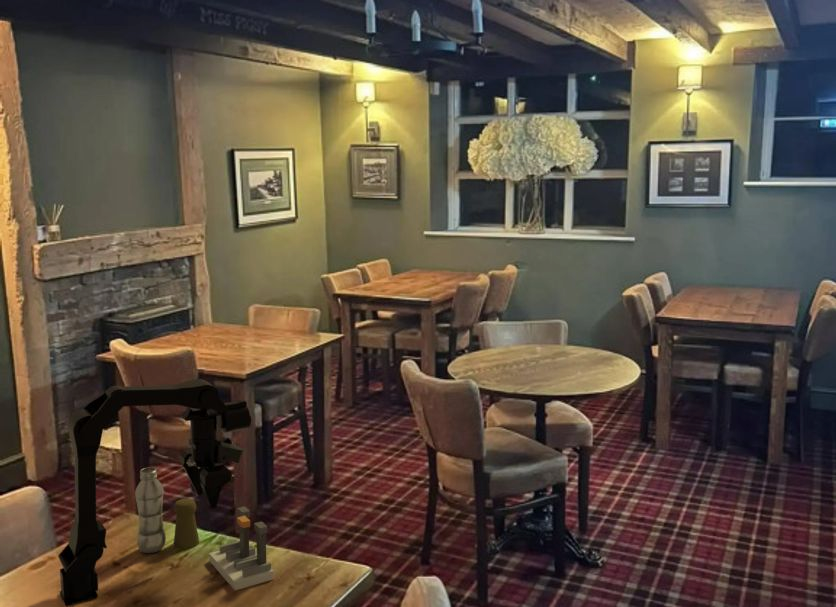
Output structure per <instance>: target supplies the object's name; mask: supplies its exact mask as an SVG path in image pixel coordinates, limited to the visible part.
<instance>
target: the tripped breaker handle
mask: <svg viewBox="0 0 836 607" xmlns="http://www.w3.org/2000/svg"><path fill="white" fill-rule="evenodd" d="M236 519H237V520H236V521H237V524H238V530H239V531H238V532H239V541H240V558H241V559H242V558H246V557H249V546H250V529H249V528H250V527H251V520H250V519H249V517H248V518H247V517H246V516H241V517H239V516H237V517H236ZM248 527H249V528H248Z"/></svg>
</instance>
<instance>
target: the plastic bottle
mask: <svg viewBox="0 0 836 607" xmlns="http://www.w3.org/2000/svg"><path fill="white" fill-rule="evenodd" d="M157 472H158V471H157V468H156V467H153V466H151V467H149V466H148V467H144V468H142V469H140V470H139V474H140V475H139V478H140V481H139V483H138V485H137V487H135V488H136V489H135V493H134V495H135V500H136V506H137V513H138V514H137V515H138V529H137V530H138V531H137V532H138V533H137V537H136V543H137V548H138V550H139V551H140V552H141V553H144V554H152V553H156V552H159V551H161V550H162V549H164V547H165V545H166V540H167V539H166V538H167V536H166V531H165V528H164V522H163V521H164V519H163V502H164V493H165V490H164V486H163V484H162V483H161V482H160V481H159V480H158V479H157V477H158V473H157Z"/></svg>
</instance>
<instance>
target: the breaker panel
mask: <svg viewBox="0 0 836 607" xmlns="http://www.w3.org/2000/svg"><path fill="white" fill-rule="evenodd" d="M208 557H209V562H210V564H211V565H212V566H213V567H214V568H215V570H216V571H218V573H219V574H220V575H221V576H222V577H223V578H224V580H225V581H226V582H227V583H228V584H229V586H230V587H231V588H232V589H233V590H234V591H238V589H239V590H242V589H244V588H248V587H252V586H256V585H260V584H263V583H267V582H268V581H269V582H270V581H273V580H274V579H275V576H274V575H275V573H274V572H275V570H273V568H272V563H271V562H266V563H265V564H261V565H257V552H256V547H255V546H253V545H249V557H246V558H242V559H241V558H240V540H236V541H233V542H229V543H226V544H221V545H219V550H217V551H212V552H208Z"/></svg>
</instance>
